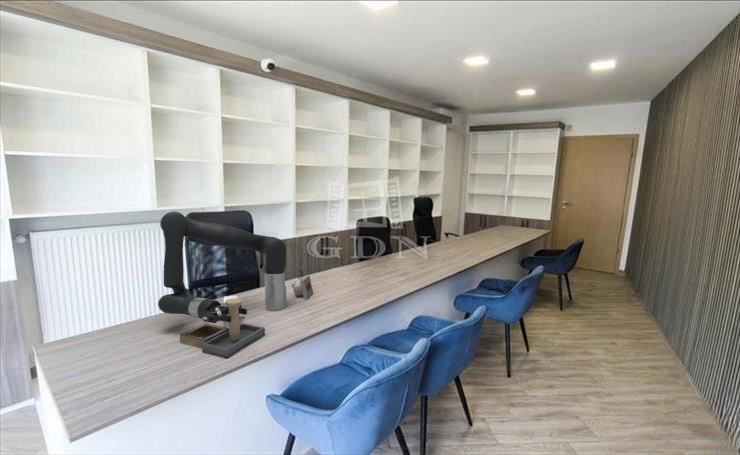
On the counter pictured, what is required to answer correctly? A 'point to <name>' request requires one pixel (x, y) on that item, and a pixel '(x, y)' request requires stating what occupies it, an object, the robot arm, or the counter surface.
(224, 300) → the small box
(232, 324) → the handle
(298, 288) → the voltmeter
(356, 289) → the counter surface
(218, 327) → the socket collar
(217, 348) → the tray
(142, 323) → the counter surface
